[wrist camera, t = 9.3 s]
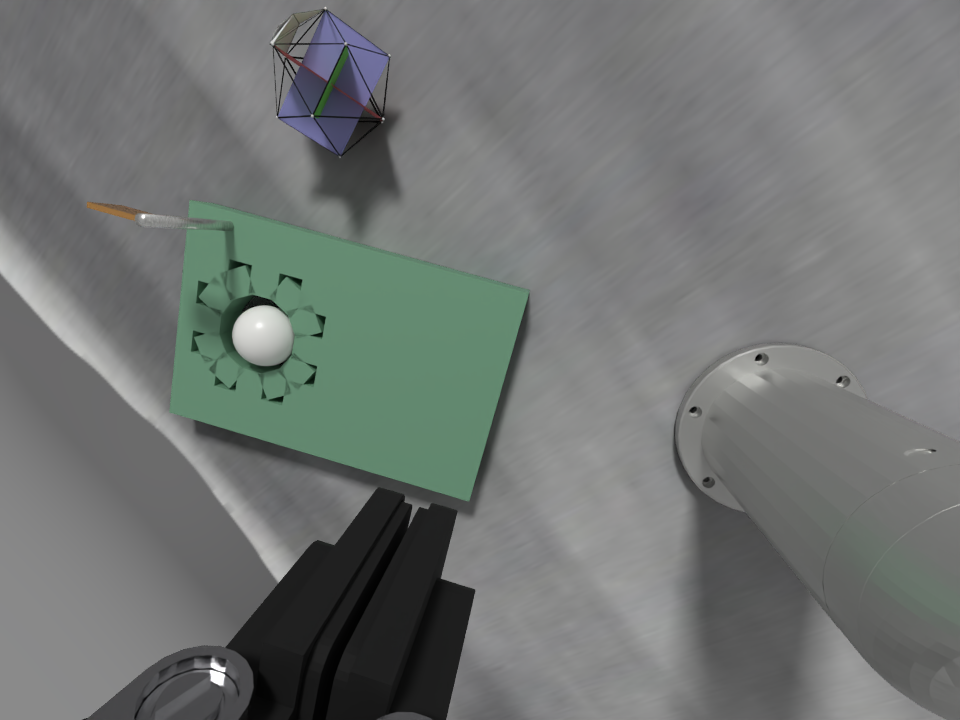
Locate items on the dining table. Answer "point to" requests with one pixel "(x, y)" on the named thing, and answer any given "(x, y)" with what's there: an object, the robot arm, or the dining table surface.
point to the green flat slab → (345, 350)
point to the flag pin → (162, 219)
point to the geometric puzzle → (329, 80)
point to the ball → (263, 335)
